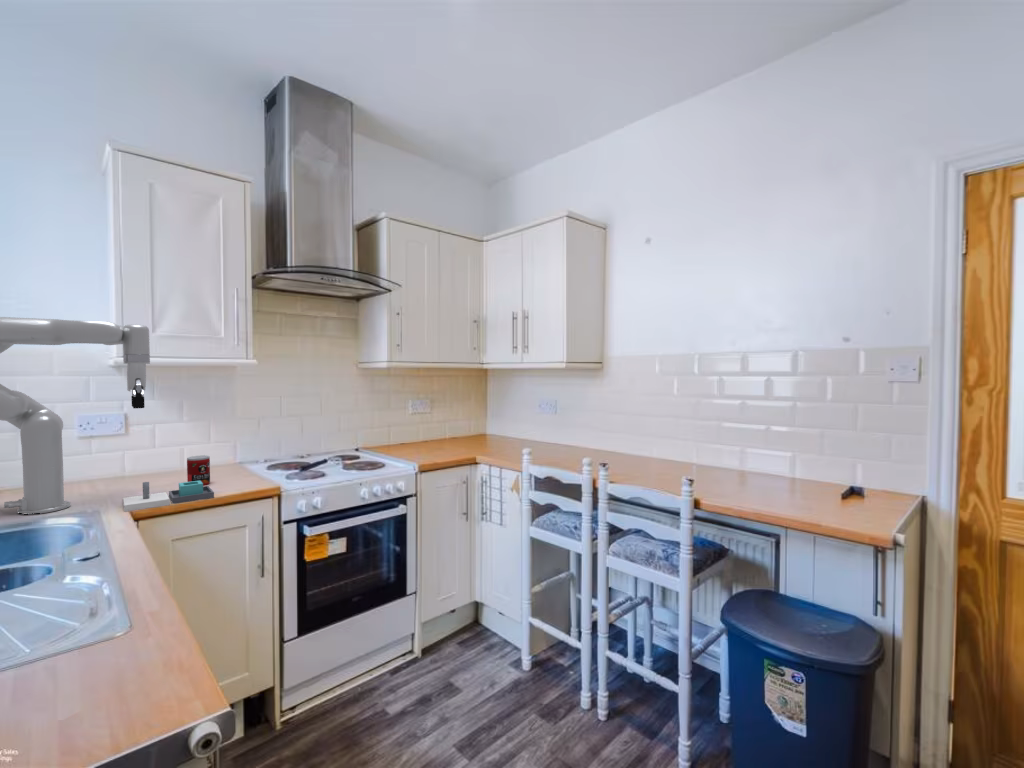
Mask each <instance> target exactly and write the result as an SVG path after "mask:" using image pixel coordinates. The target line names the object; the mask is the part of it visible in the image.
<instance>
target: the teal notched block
mask: <svg viewBox="0 0 1024 768" xmlns="http://www.w3.org/2000/svg"><path fill="white" fill-rule="evenodd" d="M203 487H204V486H203V483H202V482H201V481H200V480H199V481H192V482H188V481H184V482H179V483H178V490H179V496H180V497H181V496H188V495H195V494H202V493H203Z"/></svg>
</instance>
